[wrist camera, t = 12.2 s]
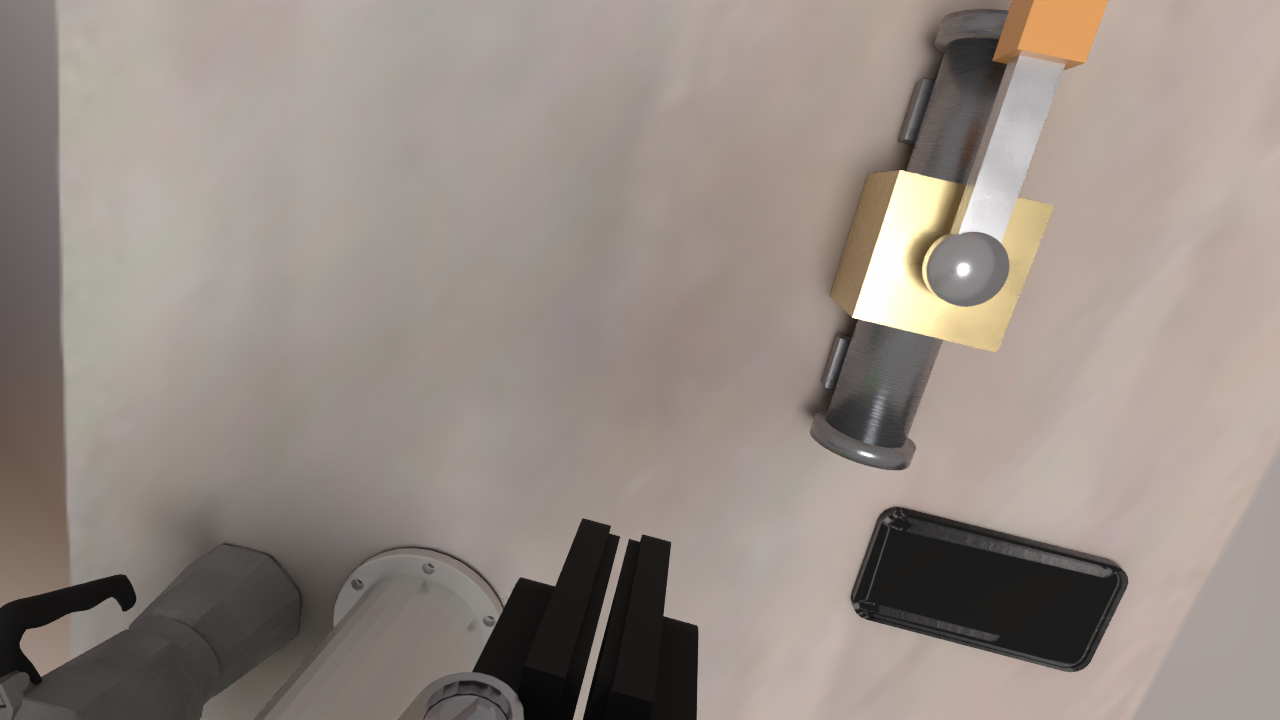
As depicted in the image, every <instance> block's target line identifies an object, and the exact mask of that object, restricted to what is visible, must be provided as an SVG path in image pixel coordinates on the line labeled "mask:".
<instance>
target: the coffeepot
mask: <svg viewBox="0 0 1280 720" xmlns="http://www.w3.org/2000/svg"><path fill="white" fill-rule="evenodd" d="M110 597H113V598H115V599H116V600H117V602H118V603H119V604H120V606H121V607H122V611H123V612H124V611H127V610H129V609H130V608H132V607H133V606H134V604H135V602H136V595H135V592H134V589H133V586H132V584H131V582H130V581H129V579H128V578H127V576H126V575H122V574H120V575H114V576H110V577H106V578H102V579H98V580H94V581H91V582H87V583H84V584H79V585H75V586H72V587H67V588H64V589H60V590H56V591H52V592H49V593H45V594H41V595H36V596H32V597H28V598H23V599H18V600H15V601H12V602H10V603H7V604H5V605H4V606H2V607H1V608H0V720H199V719H200V718H201V716H202V710H203V705H204V704H205V703H206V702H207V701H208V700H209V699H211V698H212V697H213V696H215V695H217V694H218V693H220V692H221V691H223V690H224V689H226V688H227V687H228V686H230V685H231V684H232V683H234V682H235V681H236V680H238V679H239V678H241V677H242V676H243V675H245V674H246V673H247V672H249V671H250V670H251V669H253V668H254V667H255V666H257V665H258V664H259V663H261V662H262V661H263V660H265V659H266V658H268V657H269V656H270V655H272V654H273V653H274V652H276V651H277V650H278V649H280V648H281V647H282V646H284V645H285V644H286V643H288V642H289V641H291V640H292V639H293V638H295V637H296V636H297V632H298V626H299V620H300V615H301V602H300V594H299V592H298V590H297V588H296V586H295V584H294V582H293V581H292V579H291V578H290V576H289V575H288V573H287V572H286V571H285V570H284V569H283V568H282V567H281V566H280V565H279V564H278V563H277V562H275V561H274V560H273V559H271V558H270V557H269V556H268V555H266V554H263V553H261V552H259V551H256V550H253V549H251V548H247V547H241V546H228V545H224V544H221V545H220V546H218V547H217V548H215V549H214V550H212V551H211V552H209V553H207V554H206V555H204V556H203V557H201V558H200V559H198V560H197V561H195V562H194V563H192V564H190V565H189V566H188V567H187V568H186V569H185V570H184V571H183V572H182V573H181V574H180V575H179V576H178V577H177V578H176V579H175V580H174V581H173V582H172V583H171V584H170V585H169V586H168V587H167V588H166V589H165V590H164V591H163V592H162V593H161V594H160V595H159V596H158V597H157V598H156V599H155V600H154V601H153V602H152V603H151V604H150V605H149V606H148V607H147V608H146V609H145V610H144V611H143V612H142V613H141V614H140V615H139V616H138V617H137V618H136V619H135V620H134V621H133V622H132V623H131V624H130V627H129V630H127V629H126V630H124V631H122V632H121V633H119V634H117V635H115V636H113V637H112V638H110V639H108V640H106V641H105V642H103V643H101V644H99V645H97V646H96V647H94V648H92V649H90V650H89V651H87V652H85V653H83V654H81V655H80V656H78V657H76V658H74V659H73V660H71V661H69V662H67V663H65V664H64V665H62V666H60V667H58V668H56V669H55V670H53V671H51V672H49V673H48V674H46V675H44V676H42V677H40V675H39V673H38V672H37V670H36V669H35V667H34V666H33V664H32V663H31V662H30V661H29V660H28V659H27V657H26V656H25V655H24V654H23V652H22V650H21V649H20V644H19V643H20V640H21V638H22V635H23V634H24V632H25V630H26V629H30V628H37V627H41V626H44V625H46V624H49V623H51V622H53V621H55V620H57V619H59V618H61V617H62V616H64V615H66V614H69V613H72V612H77V611H85V610H89V609H91V608H93V607H95V606H97V605H98V604H100V603H101V602H103V601H104V600H106V599H107V598H110Z"/></svg>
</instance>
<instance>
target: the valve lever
mask: <svg viewBox="0 0 1280 720" xmlns="http://www.w3.org/2000/svg"><path fill="white" fill-rule="evenodd" d="M1107 3H1108V0H1012V3H1011V6H1010V9H1009V12H1008V15H1007V18H1006V21H1005V24H1004V27H1003V30H1002V33H1001V36H1000V39H999V42H998V45H997V48H996V51H995V54H994V57H993V60H992V61H995V62H1000V63H1005V64H1007V67H1006V70H1005V73H1004V76H1003V79H1002V82H1001V85H1000V87H999V90H998V93H997V96H996V99H995V102H994V105H993V108H992V111H991V114H990V117H989V120H988V123H987V126H986V129H985V132H984V135H983V138H982V141H981V144H980V147H979V150H978V153H977V156H976V159H975V161H974V164H973V167H972V170H971V173H970V176H969V179H968V182H967V185H966V188H965V191H964V194H963V197H962V200H961V203H960V206H959V209H958V212H957V215H956V218H955V221H954V224H953V227H952V230H951V232H950V233H948V234H946V235H944V236H942V237H941V238H939V239H938V240H937V241H935V242H934V243H933V245H932V246H931V247H930V248H929V250H928V251H927V253H926V255H925V258H924V261H923V266H922V274H923V279H924V282H925V284H926V286H927V288H928V289H929V290H930V291H931V293H933V294H934V295H935V296H936V297H938V298H940V299H942V300H944V301H946V302H948V303H950V304H953V305H956V306H961V307H970V306H976V305H979V304H982V303H984V302H986V301H988V300H990V299H991V298H993V297H994V296H995V295H996V294H997V293H998V292H999V291H1000V290H1001V289H1002V287H1003V286H1004V284H1005V282H1006V280H1007V277H1008V274H1009V258H1008V254H1007V252H1006V250H1005V248H1004V246H1003V245H1002V244H1001V242H1002V239H1003V236H1004V233H1005V231H1006V228H1007V225H1008V222H1009V220H1010V217H1011V214H1012V211H1013V209H1014V206H1015V203H1016V200H1017V197H1018V195H1019V192H1020V189H1021V186H1022V184H1023V181H1024V178H1025V175H1026V172H1027V170H1028V167H1029V164H1030V161H1031V159H1032V156H1033V153H1034V150H1035V147H1036V145H1037V142H1038V139H1039V136H1040V134H1041V131H1042V128H1043V125H1044V122H1045V120H1046V117H1047V114H1048V111H1049V109H1050V106H1051V103H1052V100H1053V97H1054V95H1055V92H1056V89H1057V86H1058V84H1059V81H1060V78H1061V75H1062V72H1063V70H1066V69H1069V68H1072V67H1075V66H1078V65H1081V64H1083V63H1085V62H1086V60H1087V57H1088V54H1089V52H1090V49H1091V46H1092V43H1093V41H1094V38H1095V35H1096V33H1097V30H1098V27H1099V24H1100V22H1101V19H1102V16H1103V13H1104V11H1105V8H1106V5H1107Z"/></svg>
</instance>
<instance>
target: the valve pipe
mask: <svg viewBox="0 0 1280 720" xmlns="http://www.w3.org/2000/svg"><path fill="white" fill-rule="evenodd" d="M1008 12H1009V11H1005V10H989V9H979V10H966V11H959V12H955V13H951V14H949V15H947V16H945V17H944V18H943V19H942V21H941V24H940V28H939V31H938V34H937V37H936V40H935V47H936V48H937V49H938V50H939V51H941V52H943V53H944V56H943V60H942V63H941V66H940V69H939V72H938V75H937V78H936V81H934V80H930V79H925V78H924V79H922V80H920V81H918V82H916V85H915V88H914V91H913V94H912V97H911V100H910V103H909V107H908V110H907V113H906V116H905V119H904V122H903V125H902V129H901V132H900V135H899V138H898V141H901V142H905V143H909V144H914V149H913V152H912V155H911V158H910V161H909V164H908V167H907V170H906V171H902V170H897V171H889V172H880V173H872V174H868V175H867V178H866V181H865V185H864V188H863V191H862V194H861V197H860V201H859V204H858V207H857V210H856V214H855V217H854V220H853V223H852V226H851V230H850V233H849V236H848V239H847V242H846V246H845V249H844V252H843V255H842V259H841V262H840V265H839V268H838V271H837V275H836V278H835V281H834V284H833V287H832V291H831V294H830V297H831V298H832V299H833V300H834V301H835V302H836V303H837V304H838V305H840V306H841V307H842V308H843V309H844V310H845V311H846V312H847V313H848V314H849V315H850V316H851V317H853V318H857V319H858V320H857V323H856V326H855V330H854V333H853V336H852V337H849V336H845V335H841V334H837V333H836V336H835V339H834V342H833V345H832V348H831V351H830V355H829V358H828V361H827V364H826V367H825V370H824V373H823V377H822V380H821V381H822V383H823V385H824V387H825V388H829V389H833V390H835V391H834V394H833V397H832V400H831V403H830V406H829V409H828V410H823V411H819V412H817V413H816V414H815V417H814V420H813V423H812V427H811V430H810V434H811V436H812V437H813V439H814V440H815V441H816V442H818V443H819V444H820V445H822V446H823V447H825V448H826V449H828V450H830V451H831V452H833V453H835V454H837V455H840V456H842V457H844V458H846V459H849V460H852V461H854V462H857V463H860V464H863V465H867V466H871V467H875V468H880V469H886V470H903V469H906V468H908V467H909V466H910V463H911V460H912V458H913V455H914V452H915V450H916V446H915V444H914V442H913V441H912V440H911V439H909V438H908V434H909V431H910V429H911V426H912V423H913V420H914V418H915V415H916V412H917V409H918V407H919V404H920V401H921V398H922V396H923V393H924V390H925V387H926V385H927V382H928V379H929V377H930V374H931V371H932V368H933V366H934V363H935V360H936V357H937V355H938V352H939V349H940V346H941V344H942V341H943V340H947V341H951V342H955V343H959V344H963V345H967V346H971V347H975V348H980V349H984V350H988V351H992V352H996V353H997V352H998V349H999V346H1000V344H1001V341H1002V339H1003V336H1004V334H1005V331H1006V329H1007V326H1008V323H1009V321H1010V318H1011V316H1012V313H1013V311H1014V308H1015V305H1016V303H1017V300H1018V298H1019V295H1020V293H1021V290H1022V288H1023V285H1024V282H1025V280H1026V277H1027V275H1028V272H1029V270H1030V267H1031V265H1032V262H1033V259H1034V257H1035V254H1036V252H1037V249H1038V247H1039V244H1040V242H1041V239H1042V236H1043V234H1044V231H1045V229H1046V226H1047V224H1048V221H1049V219H1050V216H1051V213H1052V211H1053V208H1054V206H1053V205H1048V204H1044V203H1040V202H1036V201H1031V200H1027V199H1023V198H1018V197H1017V200H1016V203H1015V206H1014V209H1013V211H1012V214H1011V217H1010V220H1009V222H1008V225H1007V228H1006V231H1005V233H1004V236H1003V239H1002V242H1001V244H1002V245H1003V246H1004V248H1005V250H1006V252H1007V254H1008V258H1009V274H1008V277H1007V280H1006V282H1005V284H1004V286H1003V287H1002V289H1001V290H1000V291H999V292H998V293H997V294H996V295H995V296H994V297H993V298H991V299H990V300H988V301H986V302H984V303H982V304H979V305H976V306H970V307H961V306H956V305H953V304H950V303H948V302H946V301H944V300H942V299H940V298H938V297H936V296H935V295H934V294H933V293H931V291H930V290H929V289H928V288H927V286H926V284H925V282H924V279H923V274H922V266H923V261H924V258H925V255H926V253H927V251H928V250H929V248H930V247H931V246H932V245H933V243H934V242H935V241H937V240H938V239H939V238H941V237H942V236H944V235H946V234H948V233H950V232H951V230H952V227H953V224H954V221H955V218H956V215H957V212H958V209H959V206H960V203H961V200H962V197H963V194H964V191H965V188H966V185H967V182H968V179H969V176H970V173H971V170H972V167H973V164H974V161H975V159H976V156H977V153H978V150H979V147H980V144H981V141H982V138H983V135H984V132H985V129H986V126H987V123H988V120H989V117H990V114H991V111H992V108H993V105H994V102H995V99H996V96H997V93H998V90H999V87H1000V85H1001V82H1002V79H1003V76H1004V73H1005V70H1006V67H1007V64H1005V63H1000V62H995V61H992V60H993V57H994V54H995V51H996V48H997V45H998V42H999V39H1000V36H1001V33H1002V30H1003V27H1004V24H1005V21H1006V18H1007V15H1008Z"/></svg>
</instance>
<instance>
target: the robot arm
mask: <svg viewBox="0 0 1280 720" xmlns="http://www.w3.org/2000/svg"><path fill="white" fill-rule="evenodd" d="M610 528H611V526H609V525H606V524H602V523H598V522H595V521H591V520H587V519H583V518H582V521H581V523H580V526H579V528H578V531H577V533H576V536H575V538H574V541H573V543H572V546H571V548H570V551H569V553H568V556H567V558H566V561H565V563H564V566H563V568H562V571H561V573H560V576H559V579H558V581H557V584H556V586H555V587H554V586H551V585H547V584H543V583H540V582H536V581H532V580H529V579H525V578H522V577H521V578H519V580H518V582H517V583H516V585H515V587H514V589H513V591H512V593H511V595H510V597H509V599H508V601H507V603H506V605H505V607H504V609H503V608H502V606H501V604H500V602H499V600H498V598H497V597H496V595H495V594H494V592H493V591H492V589H491V588H490V587H489V585H488V584H487V583H486V582H485V581H484V580H483V579H482V578H481V577H480V576H479V575H478V574H477V573H475V572H474V571H473V570H471V569H470V568H469V567H467V566H466V565H464V564H463V563H461V562H459V561H457V560H455V559H453V558H451V557H449V556H447V555H444V554H441V553H437V552H434V551H431V550H424V549H417V548H406V549H395V550H391V551H387V552H383V553H380V554H378V555H376V556H374V557H372V558H370V559H368V560H367V561H366V562H364V563H363V564H362V565H360V566H359V567H358V568H357V569H356V570H355V571H354V572H353V573H352V574H351V575H350V576H349V577H348V578H347V580H346V581H345V583H344V584H343V586H342V587H341V589H340V590H339V593H338V596H337V598H336V601H335V604H334V612H333V626H334V628H333V629H332V631H331V632H330V633H329V634H328V635H327V636H326V637H325V638H324V640H323V641H322V642H321V643H320V644H319V645H318V646H317V648H316V649H315V650H314V651H313V652H312V653H311V654H310V656H309V657H308V658H307V659H306V660H305V661H304V662H303V663H302V665H301V666H300V667H299V668H298V669H297V670H296V671H295V673H294V674H293V675H292V676H291V677H290V678H289V679H288V681H287V682H286V683H285V684H284V685H283V686H282V687H281V688H280V690H279V691H278V692H277V693H276V694H275V695H274V696H273V698H272V699H271V700H270V701H269V702H268V703H267V704H266V706H265V707H264V708H263V709H262V710H261V711H260V712H259V713H258V715H257V716H256V717H255V718H254V719H253V720H573V717H574V713H575V709H576V705H577V701H578V698H579V694H580V690H581V686H582V682H583V678H584V675H585V671H586V667H587V663H588V659H589V655H590V651H591V647H592V644H593V640H594V636H595V632H596V628H597V624H598V620H599V616H600V612H601V609H602V605H603V601H604V597H605V593H606V589H607V585H608V581H609V578H610V574H611V570H612V566H613V562H614V558H615V554H616V550H617V546H618V543H619V539H620V536H616V535H612V534H609V532H610ZM670 548H671V542H669V541H665V540H661V539H658V538H654V537H650V536H647V535H643V534H642V537H641V540H640V542H638V541H634V540H631V539H629V542H628V545H627V549H626V553H625V557H624V561H623V564H622V568H621V572H620V576H619V580H618V584H617V587H616V591H615V595H614V599H613V603H612V606H611V610H610V614H609V618H608V622H607V626H606V629H605V633H604V637H603V641H602V645H601V648H600V652H599V656H598V660H597V664H596V668H595V672H594V676H593V680H592V684H591V688H590V692H589V696H588V700H587V705H586V709H585V713H584V717H583V720H697V672H698V627H697V625H693V624H689V623H686V622H682V621H679V620H675V619H671V618H668V617H664V616H663V614H664V604H665V595H666V586H667V576H668V567H669V557H670Z"/></svg>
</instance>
